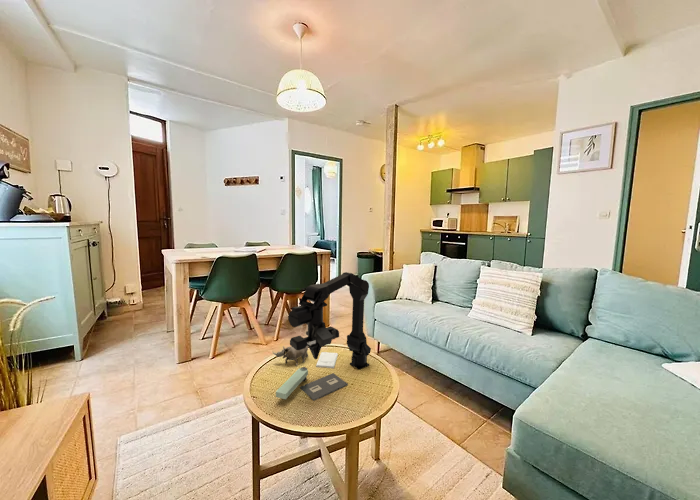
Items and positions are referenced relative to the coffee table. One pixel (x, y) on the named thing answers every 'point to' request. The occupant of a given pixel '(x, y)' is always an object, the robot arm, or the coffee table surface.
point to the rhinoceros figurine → (293, 354)
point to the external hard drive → (327, 360)
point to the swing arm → (292, 383)
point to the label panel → (323, 386)
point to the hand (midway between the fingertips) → (315, 358)
